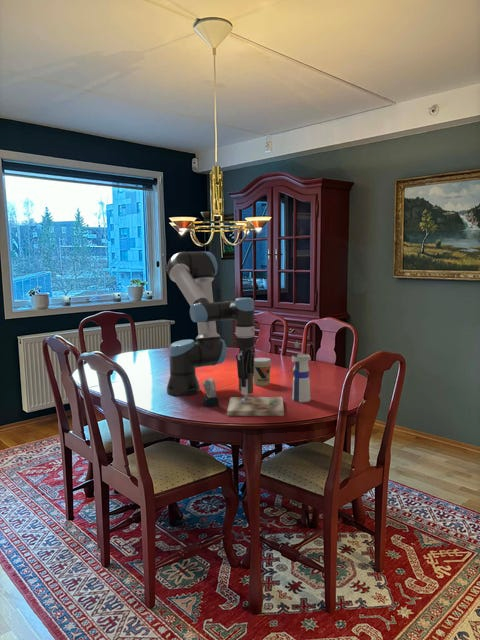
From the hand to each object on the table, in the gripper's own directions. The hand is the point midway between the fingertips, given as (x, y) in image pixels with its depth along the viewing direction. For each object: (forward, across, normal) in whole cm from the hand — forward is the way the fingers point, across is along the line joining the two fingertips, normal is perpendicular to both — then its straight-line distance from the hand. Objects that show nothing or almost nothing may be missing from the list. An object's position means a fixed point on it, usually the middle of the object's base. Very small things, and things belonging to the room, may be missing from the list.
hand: (246, 393), depth 197 cm
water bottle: (+6, +19, -16) cm, 26 cm away
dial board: (+6, +1, -4) cm, 7 cm away
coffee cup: (+6, +36, +9) cm, 38 cm away
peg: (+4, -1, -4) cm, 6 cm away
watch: (+6, -2, +16) cm, 17 cm away
